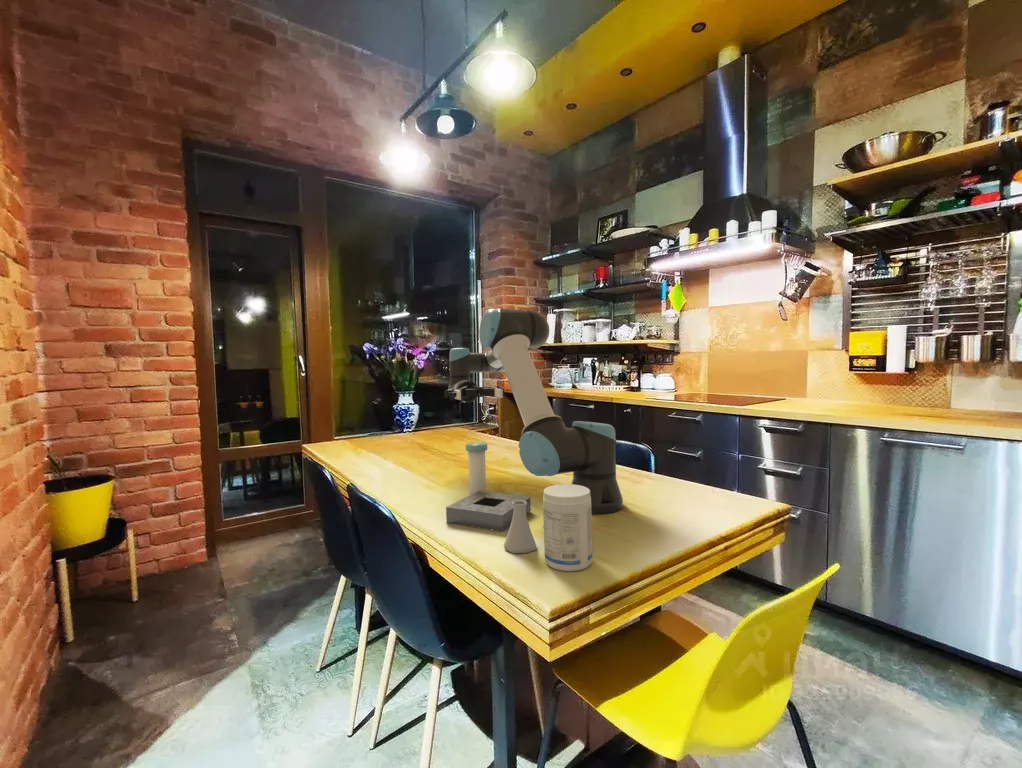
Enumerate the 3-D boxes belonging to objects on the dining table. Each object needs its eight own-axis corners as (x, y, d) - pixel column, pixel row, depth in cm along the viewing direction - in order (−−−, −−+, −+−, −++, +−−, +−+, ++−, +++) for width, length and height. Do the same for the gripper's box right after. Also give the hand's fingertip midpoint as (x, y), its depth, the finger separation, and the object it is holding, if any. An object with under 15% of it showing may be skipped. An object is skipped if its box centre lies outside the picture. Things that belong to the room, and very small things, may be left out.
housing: (530, 512, 127) (530, 497, 127) (502, 531, 113) (502, 515, 113) (478, 504, 134) (478, 490, 134) (446, 522, 120) (446, 506, 120)
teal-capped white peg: (492, 496, 143) (491, 443, 142) (481, 501, 137) (480, 446, 136) (474, 493, 146) (472, 441, 145) (462, 499, 140) (461, 445, 139)
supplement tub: (567, 549, 102) (566, 481, 101) (602, 563, 94) (601, 489, 94) (534, 562, 95) (532, 489, 95) (568, 578, 88) (567, 499, 87)
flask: (511, 557, 98) (510, 509, 98) (498, 545, 105) (497, 500, 104) (543, 550, 101) (542, 504, 101) (528, 539, 108) (527, 495, 107)
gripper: (499, 399, 175) (518, 404, 154) (431, 403, 167) (441, 408, 147) (499, 379, 174) (518, 381, 154) (430, 381, 166) (441, 384, 146)
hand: (481, 394), depth 150 cm, fingers open, 13 cm apart
